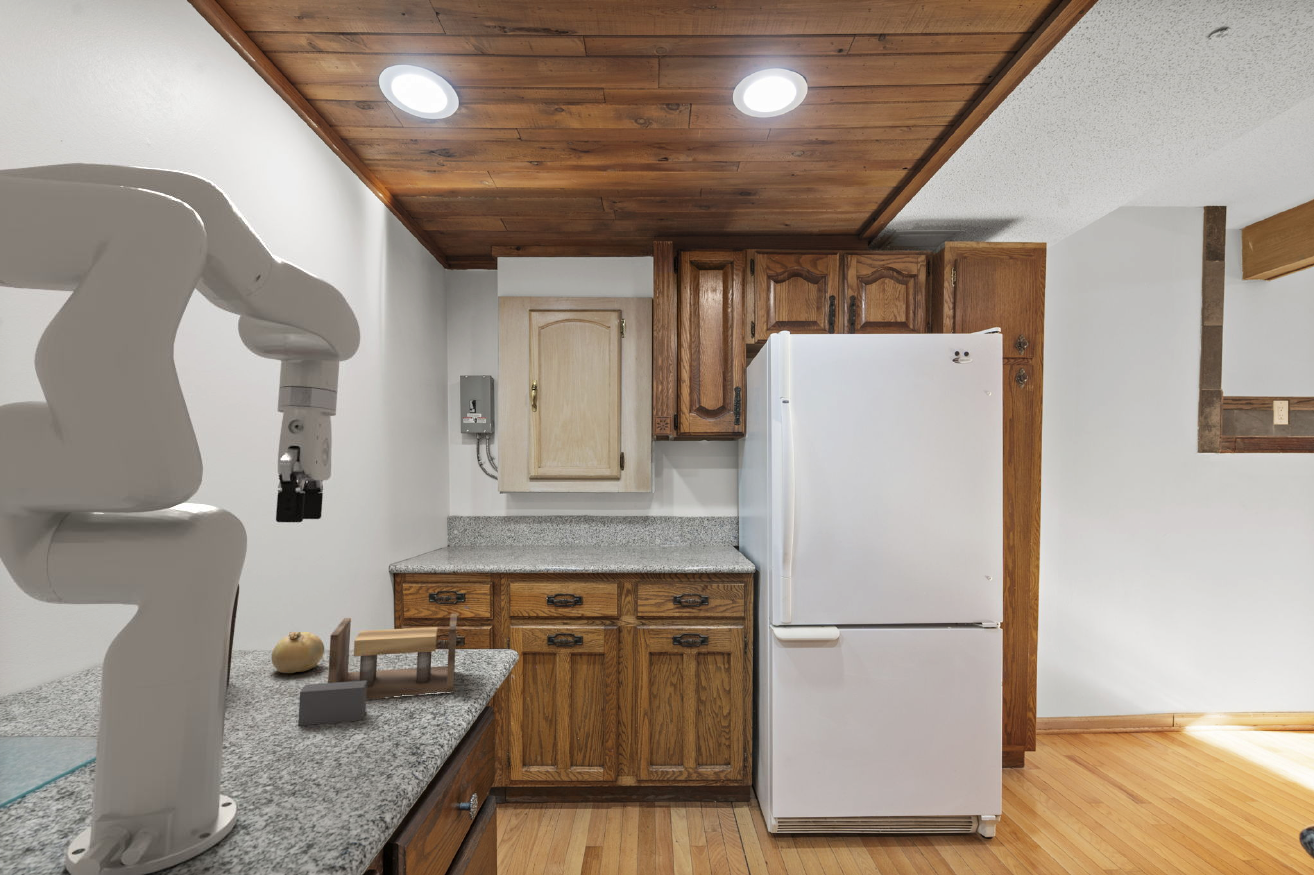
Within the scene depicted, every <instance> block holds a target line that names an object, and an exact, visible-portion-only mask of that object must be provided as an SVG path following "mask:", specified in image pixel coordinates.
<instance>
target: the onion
mask: <svg viewBox="0 0 1314 875" xmlns="http://www.w3.org/2000/svg"><path fill="white" fill-rule="evenodd" d="M325 649H326V648H325V645H324V642H323V641H322V639H321V638H320V637H319V635H316V634H314V633H312V632H310V631H300V632H299V631H289V634H288V635H286V636H284V637H283V638H281V639H280V640H279V641H278V642H277V643H276V645H275V646H274V648H273V650H272V651H271V652H272V653H271V663H272V665H273V667H274V668H275V669H276V671H277V672H279V673H281V674H294V673H296V672H297V673H300V672H306V671H309V670H312V669H314V668H316V667H318V663H319V662H320V661H321V660H322V658H323V656H324V654H325Z"/></svg>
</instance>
